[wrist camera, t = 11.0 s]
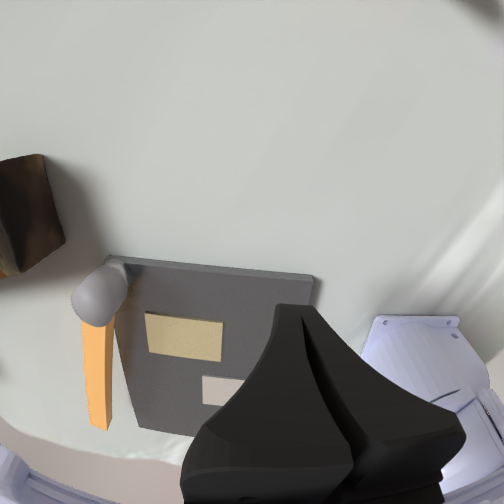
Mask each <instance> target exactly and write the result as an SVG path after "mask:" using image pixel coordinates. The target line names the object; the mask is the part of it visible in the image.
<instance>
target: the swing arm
mask: <svg viewBox="0 0 504 504" xmlns="http://www.w3.org/2000/svg"><path fill="white" fill-rule="evenodd" d="M127 293H128V287H127V284H126V281H125V279H124V278H123V276H122V275H121V274H120V273H119V272H118V271H117V270H115V269H114V268H112V267H109V266H99V267H96V268H95V269H94V270H93V271H92V272H91V273H90V274H89V275H88V276H87V277H86V278H85V279H84V280H83V281H82V282H81V283H80V285H79V286H78V287H77V288H76V289H75V290H74V291H73V293H72V296H71V303H72V306H73V309H74V311H75V313H76V314H77V315H78V317H79V318H80V319H81V320H82V333H83V357H84V372H85V384H86V394H87V402H88V410H89V418H90V424H91V425H93V426H95V427H98V428H100V429H103V430H105V431H107V430H108V427H109V425H110V422H111V420H112V357H113V337H114V322H115V314H116V312H117V310H118V309H119V307H120V306H121V304H122V303H123V301H124V300H125V298H126V296H127Z"/></svg>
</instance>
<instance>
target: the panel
mask: <svg viewBox="0 0 504 504" xmlns="http://www.w3.org/2000/svg"><path fill="white" fill-rule="evenodd" d="M104 262H105V264H104V265H103V266H109V267H112V268H114V269H115V270H117V271H118V272H119V273H120V274H121V275H122V276H123V278H124V279H125V281H126V284H127V287H128V293H127V296H126V298H125V300H124V301H123V303H122V304H121V306H120V307H119V309H118V310H117V312H116V314H115V322H114V329H115V334H116V339H117V344H118V349H119V353H120V358H121V362H122V367H123V371H124V375H125V379H126V383H127V387H128V390H129V394H130V398H131V401H132V405H133V408H134V412H135V415H136V418H137V422H138V425H139V427H141V428H146V429H151V430H156V431H161V432H167V433H172V434H178V435H185V436H192V437H195V436H196V435H197V433H198V431H199V430H200V428H201V427H202V425H203V424H204V423H205V422H206V421H207V420H208V419H209V418H210V417H212V416H213V415H214V414H215V413H216V412H217V411H218V410H219V409H220V408H222V407H223V406H224V405H225V404H226V402H227V401H228V400H229V399H230V398H231V397H232V396H233V395H234V394H235V392H236V391H237V390H238V389H239V388H240V387H241V385H242V384H243V383H244V381H245V380H246V379H247V377H248V376H249V374H250V373H251V372H252V370H253V369H254V367H255V365H256V364H257V362H258V360H259V359H260V357H261V355H262V353H263V351H264V349H265V347H266V345H267V342H268V340H269V338H270V335H271V330H272V324H273V318H274V312H275V306H276V305H277V304H279V303H283V304H296V305H309V301H310V296H311V292H312V287H313V282H314V281H313V278H312V275H306V274H295V273H283V272H272V271H261V270H251V269H240V268H230V267H219V266H209V265H199V264H190V263H180V262H170V261H161V260H152V259H142V258H133V257H124V256H116V255H109V256H108V257H107V258H106V259H105V260H104Z"/></svg>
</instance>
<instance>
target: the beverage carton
mask: <svg viewBox="0 0 504 504" xmlns="http://www.w3.org/2000/svg"><path fill="white" fill-rule="evenodd" d="M63 244H65V238H64V235H63V232H62V229H61V226H60V223H59V220H58V217H57V214H56V210H55V207H54V203H53V200H52V194H51V191H50V187H49V184H48V180H47V175H46V171H45V167H44V161H43V156H42V155H41V154H32V155H27V156H21V157H17V158H11V159H7V160H3V161H0V279H4V278H7V277H10V276H14V275H17V274H20V273H24V272H26V271H27V270H28V269H30V268H31V267H33V266H34V265H35V264H37V263H38V262H40V261H41V260H42V259H43V258H45V257H46V256H48V255H49V254H50V253H52V252H53V251H54V250H56V249H58V248H59V247H60V246H62V245H63Z"/></svg>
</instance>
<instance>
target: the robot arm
mask: <svg viewBox="0 0 504 504" xmlns="http://www.w3.org/2000/svg"><path fill="white" fill-rule="evenodd" d="M385 320H387V321H386V322H384V321H385ZM447 321H448V322H447ZM383 322H384V323H383ZM459 322H460V318H459V317H458V316H393V315H379V316H377V317H376V318H375V319H374V321H373V324H372V327H371V330H370V332H369V335H368V338H367V340H366V343H365V345H364V348H363V350H362V353H361V355H360V357H359V356H358V355H357V354H356V353H355V352H354V351H353V350H352V349H351V348H350V347H349V346H348V345H347V344H346V343H345V342H344V341H343V340H342V339H341V338H340V337H339V336H338V335H337V333H336V332H335V331H334V330H333V329H332V328H331V327H330V326H329V324H328V323H327V322H326V321H325V320H324V319H323V317H322V316H321V315H320V314H319V313H318V311H317V310H316V309H315V308H314V307H313V306H310V305H296V304H283V303H279V304H277V305H276V306H275V312H274V318H273V324H272V330H271V335H270V338H269V340H268V342H267V345H266V347H265V349H264V351H263V353H262V355H261V357H260V359H259V360H258V362H257V364H256V365H255V367H254V369H253V370H252V372H251V373H250V374H249V376H248V377H247V379H246V380H245V381H244V383H243V384H242V385H241V387H240V388H239V389H238V390H237V391H236V392H235V394H234V395H233V396H232V397H231V398H230V399H229V400H228V401H227V402H226V404H225V405H224V406H223V407H222V408H220V409H219V410H218V411H217V412H216V413H215V414H214V415H213V416H212V417H210V418H209V419H208V420H207V421H206V422H205V423H204V424H203V425H202V427H201V428H200V430H199V431H198V433H197V435H196V436H195V438H194V440H193V442H192V443H191V445H190V447H189V449H188V451H187V453H186V456H185V458H184V461H183V465H182V471H181V478H180V487H181V491H182V494H183V498H184V504H504V442H503V441H504V405H503V404H502V402H501V401H500V399H499V397H498V396H497V395H496V393H495V392H494V391H493V390H492V389H489V388H490V382H489V374H488V371H487V368H486V366H485V364H484V363H483V361H482V360H481V358H480V357H479V356H478V354H477V353H476V352H475V350H474V349H473V348H472V346H471V345H470V344H469V342H468V341H467V340H466V338H465V337H464V336H463V334H462V333H461V332H460V331H459V329H458V328H457V326H458V324H459ZM484 407H485V408H484ZM485 409H486V410H487V411H486V410H485ZM487 412H488V413H487ZM488 414H489V415H488ZM502 439H503V440H502ZM0 504H119V503H116V502H113V501H109V500H106V499H103V498H100V497H97V496H94V495H91V494H88V493H86V492H83V491H80V490H78V489H75V488H73V487H70V486H68V485H65V484H63V483H61V482H58V481H56V480H54V479H52V478H49V477H47V476H45V475H43V474H41V473H39V472H37V471H34V470H33V469H31V468H30V467H29V465H28V464H27V463H26V462H25V461H24V460H23V459H22V458H21V457H20V456H19V455H17V454H16V453H14V452H13V451H11V450H9V449H8V448H6V447H4V446H2V445H1V444H0Z"/></svg>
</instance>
